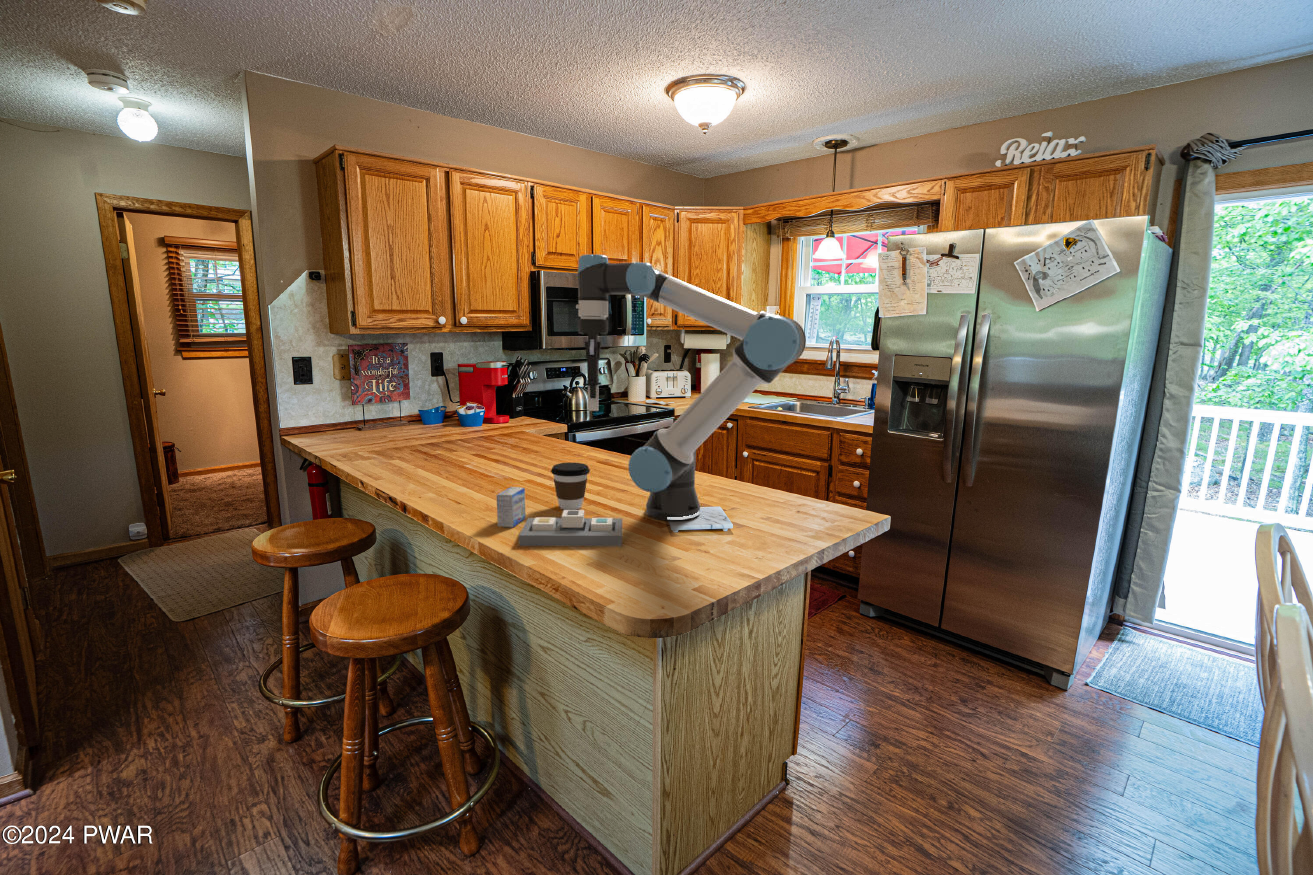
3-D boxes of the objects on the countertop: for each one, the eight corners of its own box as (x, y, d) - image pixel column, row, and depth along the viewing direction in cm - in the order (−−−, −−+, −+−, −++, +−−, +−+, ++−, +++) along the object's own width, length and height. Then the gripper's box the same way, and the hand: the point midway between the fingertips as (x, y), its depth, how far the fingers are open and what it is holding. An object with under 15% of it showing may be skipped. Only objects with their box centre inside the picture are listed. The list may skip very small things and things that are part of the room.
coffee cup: (597, 505, 171) (597, 465, 169) (572, 515, 162) (572, 472, 160) (568, 499, 177) (568, 460, 175) (543, 508, 168) (542, 467, 166)
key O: (612, 528, 148) (612, 516, 148) (611, 535, 143) (611, 523, 143) (592, 528, 148) (592, 516, 148) (590, 535, 143) (590, 523, 143)
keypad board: (622, 527, 153) (622, 518, 152) (621, 546, 140) (621, 535, 139) (528, 527, 152) (528, 517, 151) (519, 545, 139) (518, 535, 138)
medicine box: (513, 528, 151) (512, 495, 149) (497, 526, 152) (496, 494, 150) (526, 518, 159) (525, 487, 157) (510, 517, 159) (509, 486, 158)
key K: (584, 520, 148) (584, 509, 147) (582, 527, 143) (582, 515, 142) (564, 520, 147) (563, 509, 147) (561, 527, 143) (561, 515, 142)
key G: (556, 528, 148) (555, 516, 147) (553, 535, 143) (553, 523, 142) (535, 528, 147) (535, 516, 147) (532, 535, 143) (532, 523, 142)
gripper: (580, 318, 157) (580, 407, 161) (576, 317, 144) (576, 413, 148) (608, 319, 157) (608, 407, 161) (606, 318, 144) (606, 414, 149)
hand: (593, 410), depth 155 cm, fingers closed
